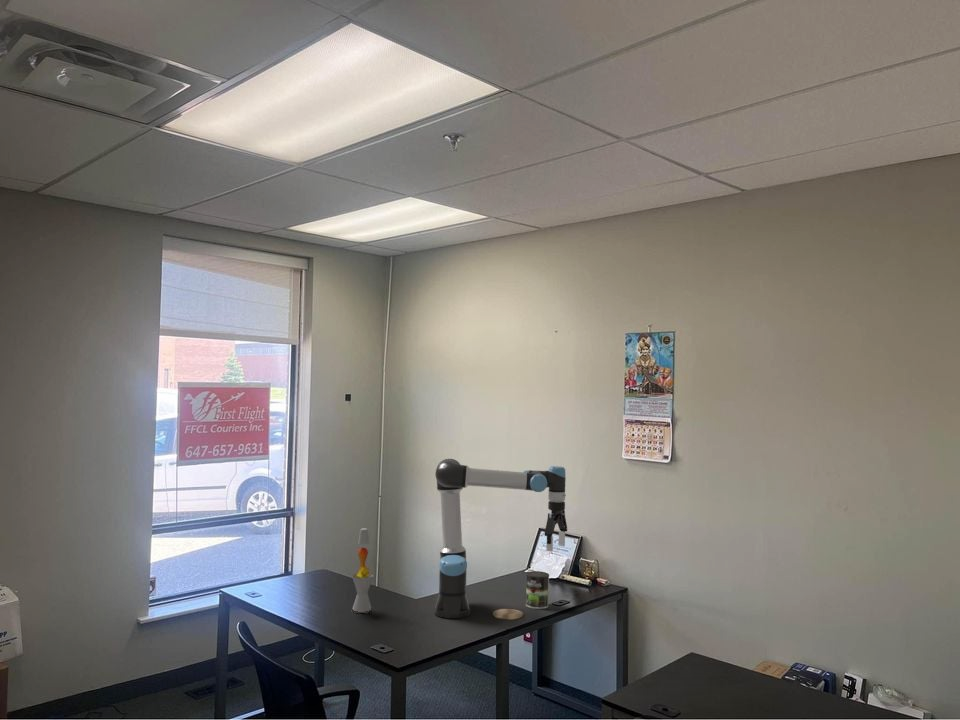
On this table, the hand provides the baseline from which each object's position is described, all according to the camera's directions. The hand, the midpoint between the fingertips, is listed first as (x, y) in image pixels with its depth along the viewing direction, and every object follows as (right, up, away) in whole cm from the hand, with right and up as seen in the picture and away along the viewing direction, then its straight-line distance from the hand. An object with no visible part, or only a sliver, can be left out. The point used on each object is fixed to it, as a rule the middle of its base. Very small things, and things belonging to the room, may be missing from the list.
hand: (555, 548), depth 315 cm
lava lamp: (-85, -23, -14) cm, 90 cm away
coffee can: (-9, -25, -2) cm, 27 cm away
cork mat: (-22, -24, -16) cm, 37 cm away
